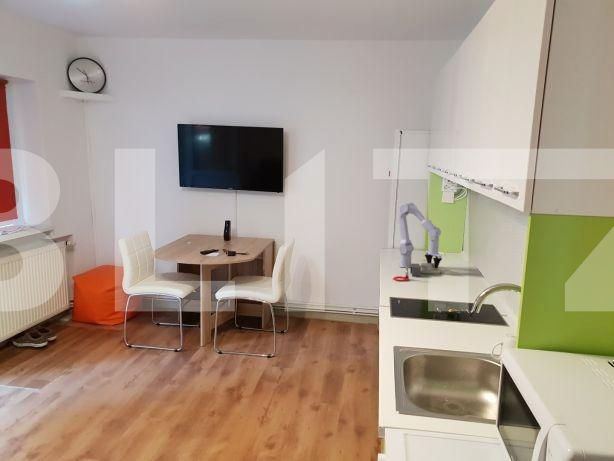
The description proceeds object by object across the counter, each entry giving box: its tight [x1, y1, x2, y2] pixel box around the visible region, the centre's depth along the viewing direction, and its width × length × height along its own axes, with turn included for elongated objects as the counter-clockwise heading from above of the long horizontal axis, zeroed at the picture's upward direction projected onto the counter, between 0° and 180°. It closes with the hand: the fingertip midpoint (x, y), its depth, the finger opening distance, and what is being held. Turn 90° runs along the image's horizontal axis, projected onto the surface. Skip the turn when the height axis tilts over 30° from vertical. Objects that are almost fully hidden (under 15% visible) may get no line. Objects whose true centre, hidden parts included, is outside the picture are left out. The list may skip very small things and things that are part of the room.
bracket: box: [409, 262, 422, 278], centre depth 278 cm, size 9×5×6 cm, turn 175°
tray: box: [420, 265, 442, 275], centre depth 287 cm, size 10×18×2 cm, turn 85°
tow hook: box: [392, 259, 410, 282], centre depth 267 cm, size 8×13×9 cm
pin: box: [420, 262, 437, 271], centre depth 282 cm, size 4×13×4 cm, turn 137°
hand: (432, 266), depth 286 cm, fingers open, 7 cm apart
